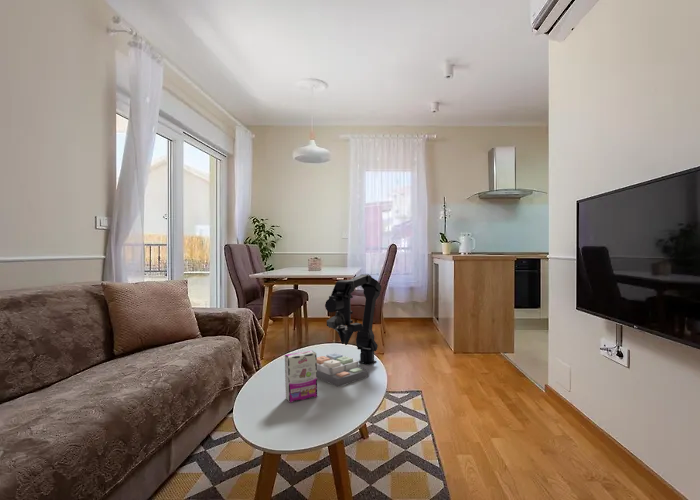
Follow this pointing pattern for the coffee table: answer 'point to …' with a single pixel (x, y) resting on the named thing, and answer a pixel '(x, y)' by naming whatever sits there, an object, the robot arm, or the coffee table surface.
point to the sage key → (345, 360)
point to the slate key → (334, 356)
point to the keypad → (341, 373)
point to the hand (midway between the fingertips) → (344, 344)
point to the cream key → (332, 363)
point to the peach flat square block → (322, 359)
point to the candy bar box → (301, 376)
